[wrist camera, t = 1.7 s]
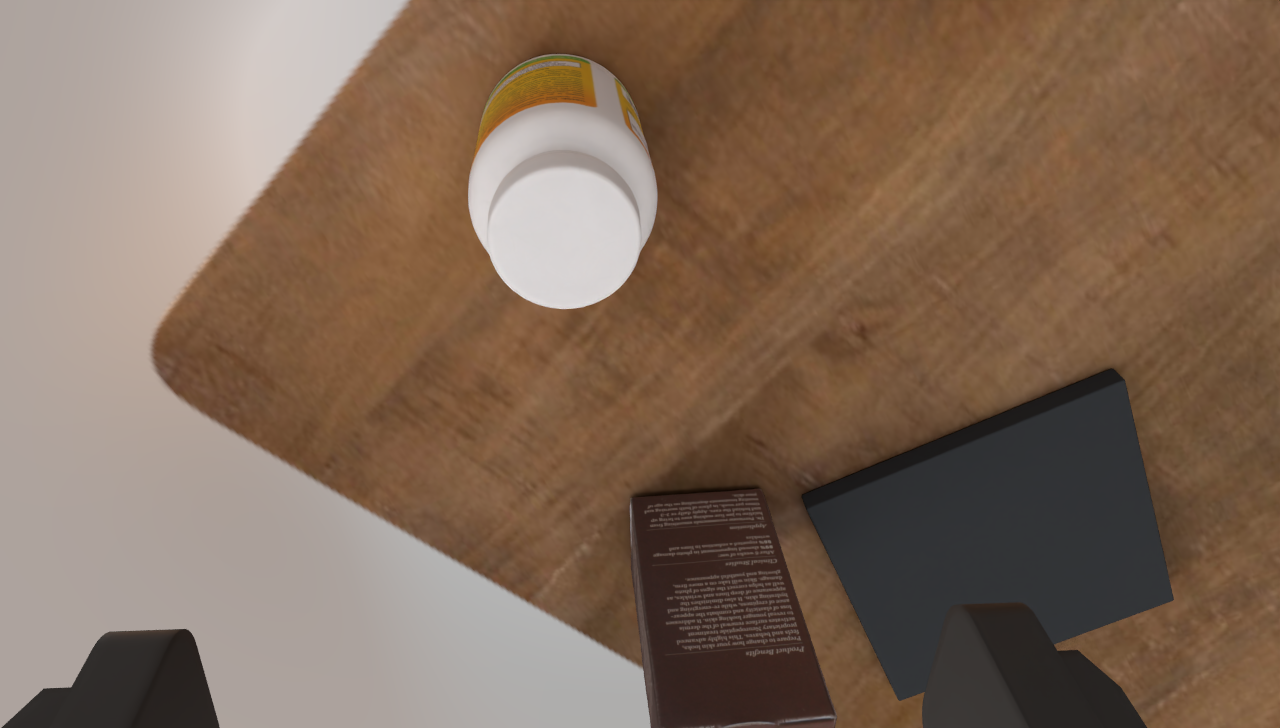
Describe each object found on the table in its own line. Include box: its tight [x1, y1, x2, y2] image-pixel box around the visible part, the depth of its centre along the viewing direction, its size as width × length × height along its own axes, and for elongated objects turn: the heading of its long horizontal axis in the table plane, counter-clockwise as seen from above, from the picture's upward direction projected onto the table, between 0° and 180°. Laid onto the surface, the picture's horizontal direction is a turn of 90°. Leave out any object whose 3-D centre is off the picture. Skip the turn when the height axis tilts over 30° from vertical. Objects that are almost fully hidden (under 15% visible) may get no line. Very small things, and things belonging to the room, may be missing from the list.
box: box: [629, 489, 837, 728], centre depth 37 cm, size 6×4×12 cm
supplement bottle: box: [468, 54, 657, 309], centre depth 28 cm, size 5×5×10 cm
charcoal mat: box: [802, 369, 1174, 701], centre depth 43 cm, size 14×14×1 cm
